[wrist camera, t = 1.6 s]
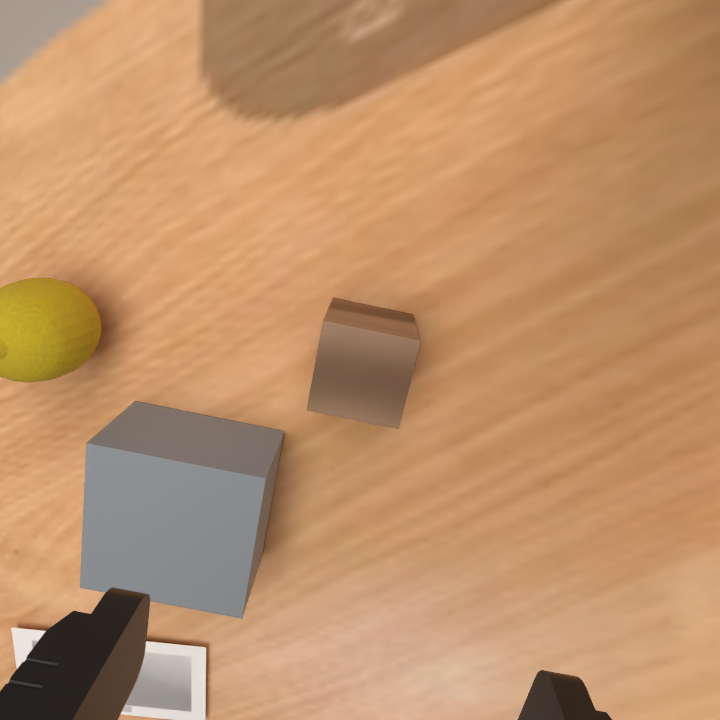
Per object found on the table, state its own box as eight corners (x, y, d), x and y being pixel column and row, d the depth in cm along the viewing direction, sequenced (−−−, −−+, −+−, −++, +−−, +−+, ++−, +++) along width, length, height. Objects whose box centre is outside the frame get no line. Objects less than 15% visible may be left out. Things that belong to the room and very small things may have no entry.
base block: (135, 401, 34) (86, 443, 28) (284, 431, 34) (265, 478, 29) (125, 527, 37) (79, 587, 32) (262, 553, 38) (242, 618, 32)
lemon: (126, 359, 33) (52, 408, 26) (40, 350, 33) (-59, 397, 26) (122, 273, 32) (42, 299, 24) (32, 264, 32) (-77, 286, 24)
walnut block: (333, 297, 32) (323, 320, 26) (413, 314, 32) (420, 340, 26) (318, 372, 33) (306, 410, 28) (394, 388, 33) (398, 429, 28)
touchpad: (20, 616, 41) (1, 639, 39) (210, 636, 41) (201, 659, 39) (30, 691, 43) (12, 716, 41) (209, 710, 43) (201, 735, 41)
